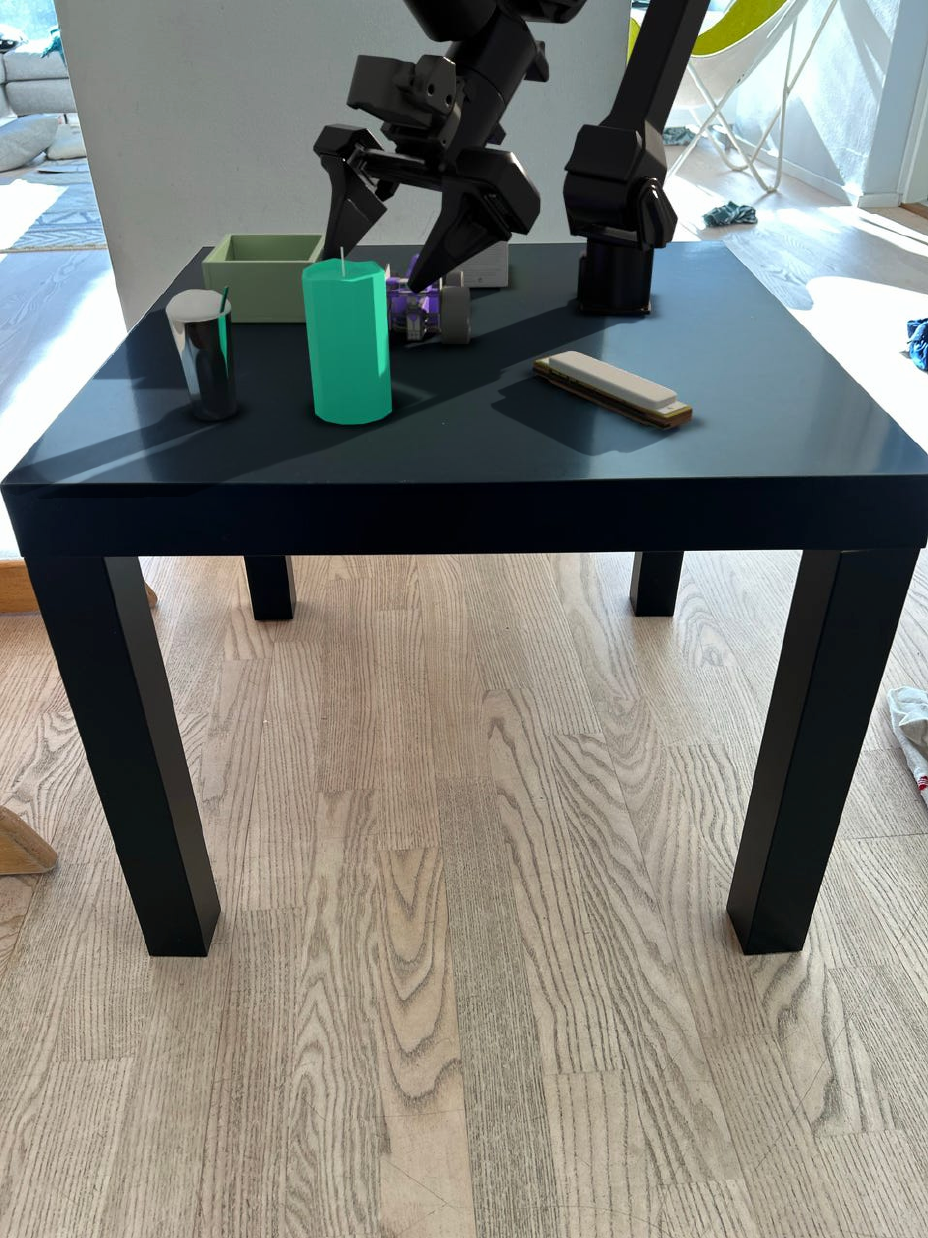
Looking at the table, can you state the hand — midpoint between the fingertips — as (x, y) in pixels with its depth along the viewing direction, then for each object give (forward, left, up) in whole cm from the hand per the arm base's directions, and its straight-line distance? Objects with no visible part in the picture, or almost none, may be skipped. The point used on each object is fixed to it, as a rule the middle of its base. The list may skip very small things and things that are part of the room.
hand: (367, 277), depth 72 cm
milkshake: (+11, +4, -10) cm, 15 cm away
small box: (-5, -33, -10) cm, 35 cm away
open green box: (+14, -22, -9) cm, 28 cm away
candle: (+1, +2, -10) cm, 10 cm away
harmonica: (-18, -2, -10) cm, 21 cm away
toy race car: (-1, -18, -10) cm, 21 cm away
